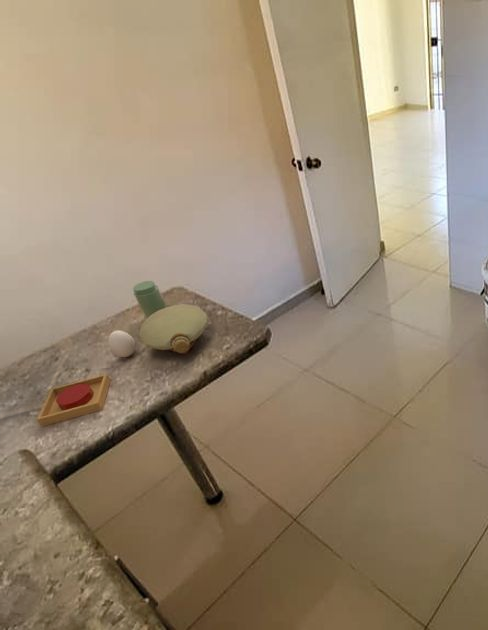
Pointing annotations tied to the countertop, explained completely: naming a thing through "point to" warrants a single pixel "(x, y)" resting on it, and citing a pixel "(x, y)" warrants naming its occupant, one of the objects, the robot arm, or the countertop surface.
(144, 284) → the jar
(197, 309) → the flask
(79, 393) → the lid
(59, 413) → the tray
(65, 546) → the countertop surface
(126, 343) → the egg
